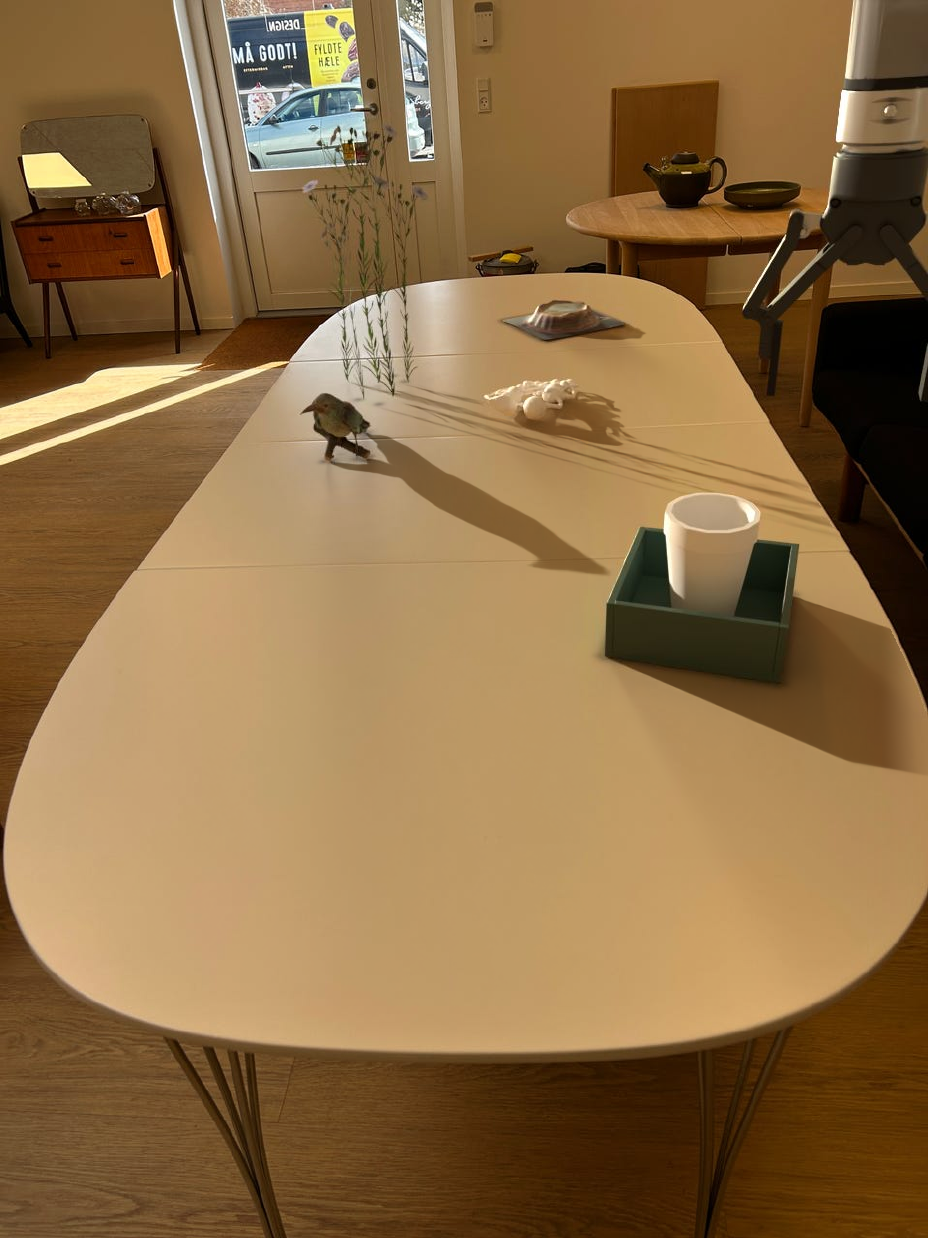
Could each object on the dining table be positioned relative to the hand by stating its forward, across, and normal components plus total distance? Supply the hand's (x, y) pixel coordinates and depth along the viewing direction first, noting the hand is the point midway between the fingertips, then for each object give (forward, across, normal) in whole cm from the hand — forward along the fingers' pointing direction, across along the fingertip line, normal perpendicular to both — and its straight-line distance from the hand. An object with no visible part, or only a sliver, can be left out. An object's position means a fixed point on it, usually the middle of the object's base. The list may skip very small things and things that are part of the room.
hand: (845, 394), depth 89 cm
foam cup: (+24, -11, -4) cm, 27 cm away
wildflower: (+23, -78, +62) cm, 102 cm away
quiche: (+23, -55, +112) cm, 126 cm away
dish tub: (+25, -11, -4) cm, 28 cm away
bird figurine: (+24, -72, +32) cm, 82 cm away
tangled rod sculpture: (+24, -48, +60) cm, 80 cm away
